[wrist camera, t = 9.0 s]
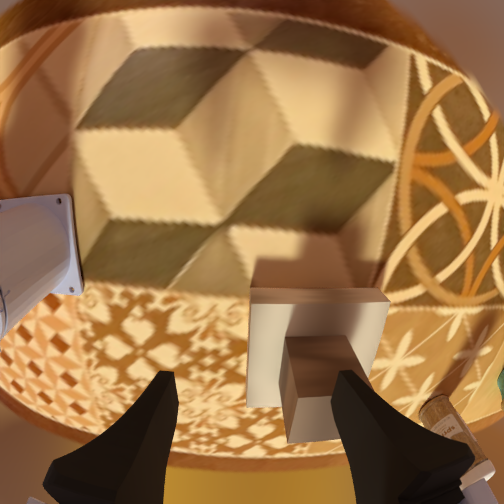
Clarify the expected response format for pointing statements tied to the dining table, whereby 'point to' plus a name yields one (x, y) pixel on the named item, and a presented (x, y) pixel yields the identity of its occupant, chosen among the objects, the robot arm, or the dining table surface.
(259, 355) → the birch block
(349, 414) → the robot arm
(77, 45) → the dining table surface
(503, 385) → the cupcake
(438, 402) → the sprinkles bottle
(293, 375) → the walnut block
